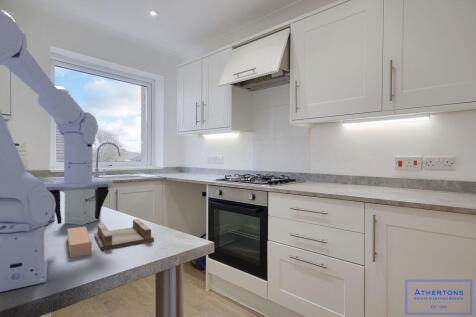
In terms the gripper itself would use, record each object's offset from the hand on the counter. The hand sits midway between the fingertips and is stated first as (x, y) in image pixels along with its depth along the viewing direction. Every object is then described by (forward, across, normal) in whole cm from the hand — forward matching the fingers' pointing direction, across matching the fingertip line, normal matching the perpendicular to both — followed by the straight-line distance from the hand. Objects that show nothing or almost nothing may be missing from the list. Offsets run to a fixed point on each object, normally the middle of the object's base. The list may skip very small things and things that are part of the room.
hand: (78, 220), depth 63 cm
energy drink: (+6, +7, -30) cm, 31 cm away
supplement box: (+6, -3, -24) cm, 25 cm away
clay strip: (+6, 0, 0) cm, 6 cm away
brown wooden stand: (+6, -10, 0) cm, 12 cm away
